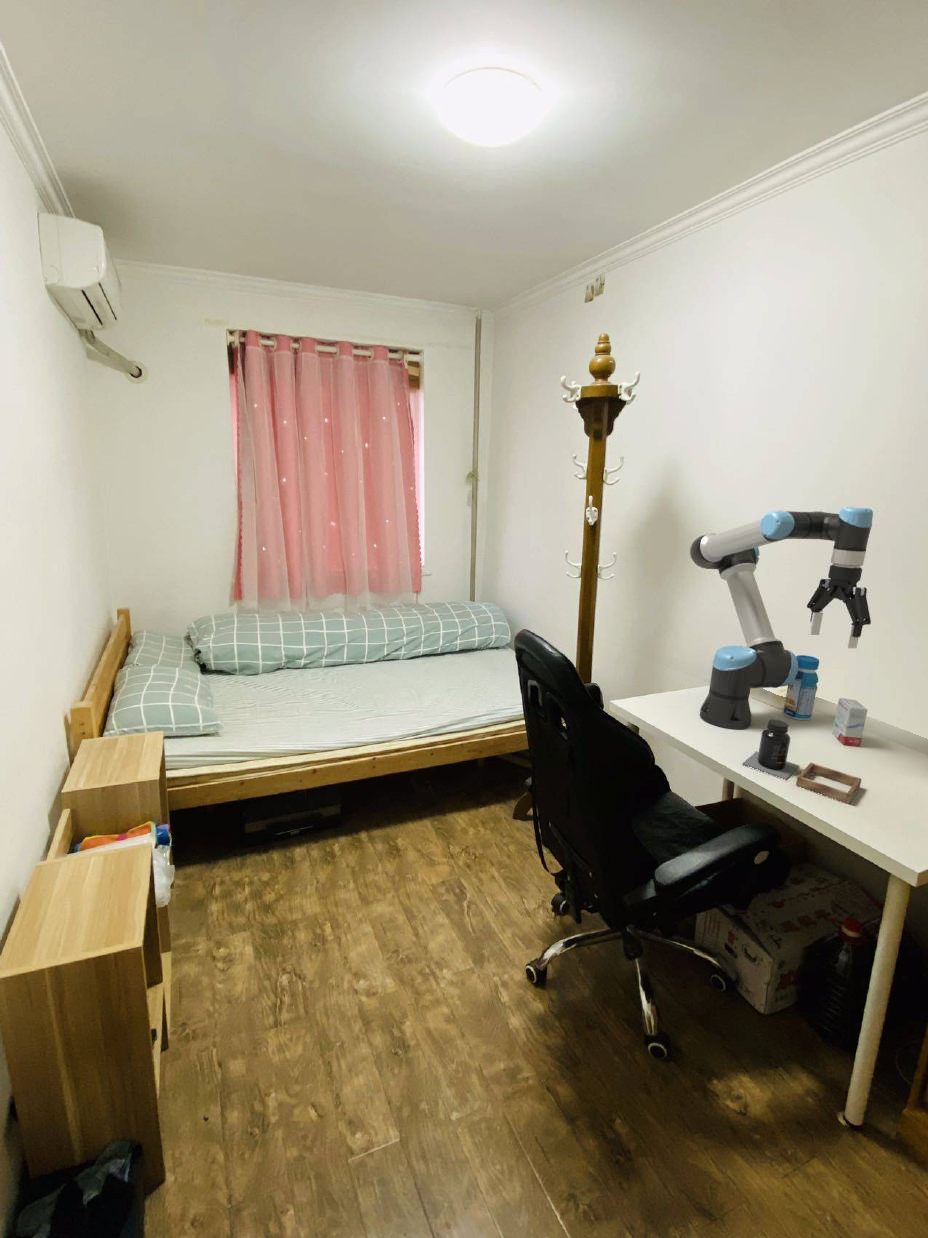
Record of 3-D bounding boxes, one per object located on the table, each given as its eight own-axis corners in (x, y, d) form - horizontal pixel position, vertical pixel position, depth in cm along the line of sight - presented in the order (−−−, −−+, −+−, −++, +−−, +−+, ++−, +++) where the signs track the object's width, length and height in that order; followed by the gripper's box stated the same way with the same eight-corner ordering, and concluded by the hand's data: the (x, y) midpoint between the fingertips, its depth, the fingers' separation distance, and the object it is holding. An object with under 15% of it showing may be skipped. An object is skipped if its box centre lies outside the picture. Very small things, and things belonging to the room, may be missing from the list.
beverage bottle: (808, 723, 192) (820, 663, 187) (779, 716, 197) (790, 657, 192) (813, 716, 198) (824, 658, 194) (785, 709, 204) (795, 652, 199)
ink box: (860, 747, 176) (868, 709, 173) (842, 745, 177) (850, 707, 174) (848, 735, 184) (856, 699, 182) (831, 733, 185) (838, 697, 183)
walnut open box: (795, 785, 152) (797, 776, 151) (809, 771, 160) (810, 762, 159) (848, 804, 144) (850, 794, 143) (859, 787, 152) (861, 778, 152)
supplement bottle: (751, 758, 165) (758, 717, 162) (775, 758, 166) (782, 717, 163) (766, 770, 158) (773, 728, 155) (790, 770, 159) (798, 728, 156)
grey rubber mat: (741, 764, 162) (742, 763, 162) (756, 752, 170) (756, 751, 169) (785, 780, 154) (786, 778, 154) (798, 766, 162) (799, 765, 162)
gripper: (898, 573, 152) (880, 654, 157) (824, 559, 176) (811, 629, 181) (872, 573, 150) (855, 654, 155) (801, 558, 174) (788, 629, 179)
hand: (831, 641), depth 168 cm, fingers open, 13 cm apart
